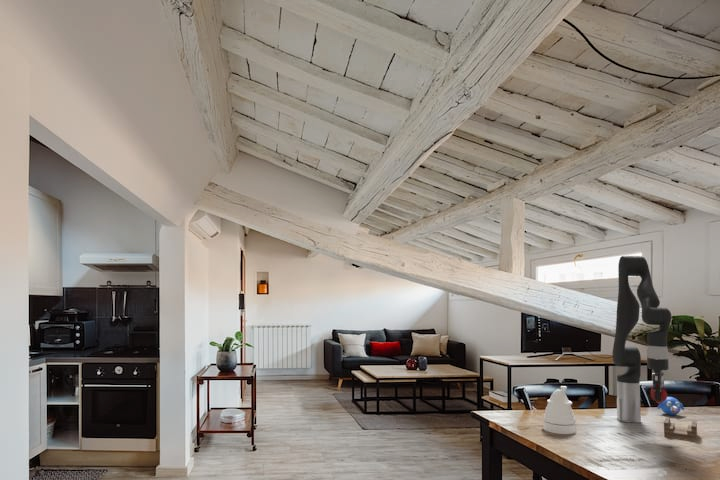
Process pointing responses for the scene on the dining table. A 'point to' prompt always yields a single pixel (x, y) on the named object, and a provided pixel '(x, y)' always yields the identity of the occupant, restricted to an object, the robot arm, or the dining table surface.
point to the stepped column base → (680, 431)
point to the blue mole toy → (671, 406)
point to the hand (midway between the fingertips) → (658, 399)
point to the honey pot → (559, 414)
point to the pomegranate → (663, 395)
